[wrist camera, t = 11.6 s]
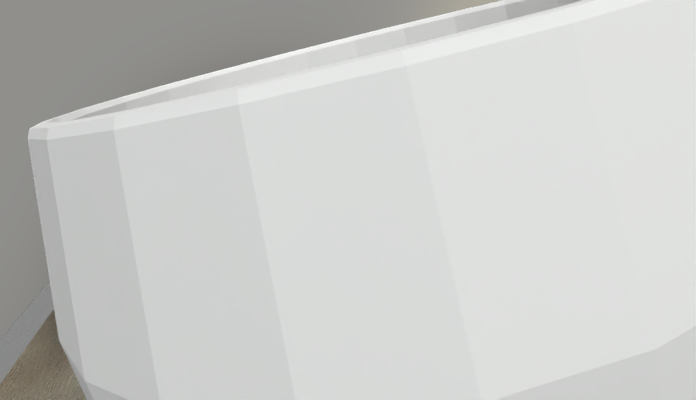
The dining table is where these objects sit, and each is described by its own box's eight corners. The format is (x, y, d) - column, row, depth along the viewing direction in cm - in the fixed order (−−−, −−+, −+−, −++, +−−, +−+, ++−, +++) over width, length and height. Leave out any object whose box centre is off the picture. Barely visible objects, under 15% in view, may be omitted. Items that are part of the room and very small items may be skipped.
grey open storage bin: (62, 627, 20) (-58, 411, 17) (142, 363, 37) (88, 232, 34) (703, 394, 24) (697, 181, 21) (507, 251, 41) (488, 122, 38)
